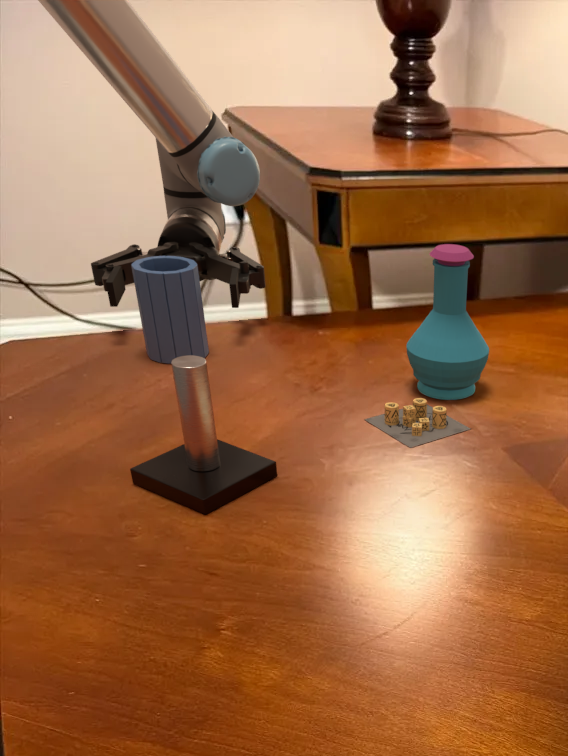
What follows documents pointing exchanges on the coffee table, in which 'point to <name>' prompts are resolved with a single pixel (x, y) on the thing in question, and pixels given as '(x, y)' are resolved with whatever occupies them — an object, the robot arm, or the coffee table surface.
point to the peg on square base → (201, 451)
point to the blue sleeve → (170, 307)
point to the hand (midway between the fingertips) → (173, 295)
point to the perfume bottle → (448, 332)
